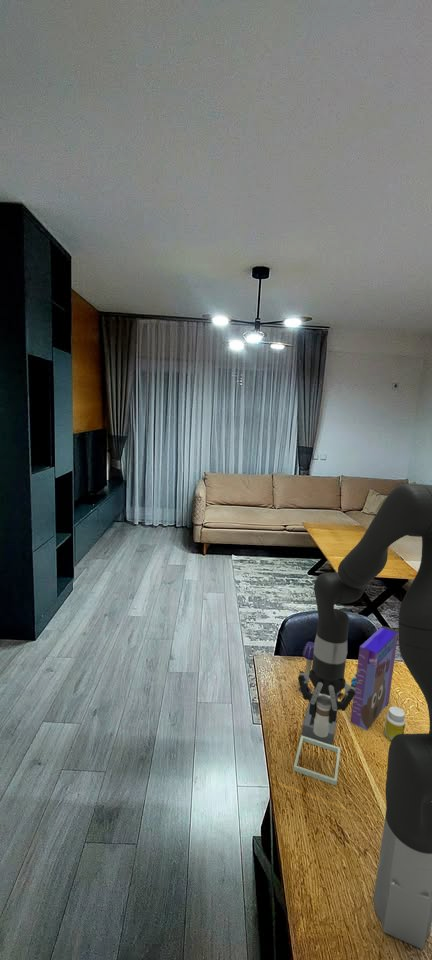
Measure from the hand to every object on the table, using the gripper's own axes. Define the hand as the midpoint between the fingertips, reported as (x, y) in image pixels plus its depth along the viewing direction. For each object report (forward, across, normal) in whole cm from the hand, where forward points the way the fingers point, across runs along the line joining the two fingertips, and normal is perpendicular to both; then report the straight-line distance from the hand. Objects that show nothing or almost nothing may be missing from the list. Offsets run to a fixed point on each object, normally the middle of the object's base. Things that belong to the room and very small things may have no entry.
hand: (322, 718), depth 103 cm
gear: (+13, +10, +38) cm, 41 cm away
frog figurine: (+13, +1, +29) cm, 32 cm away
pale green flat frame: (+12, 0, 0) cm, 12 cm away
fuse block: (+13, -1, +13) cm, 18 cm away
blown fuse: (+4, 0, 0) cm, 4 cm away
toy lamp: (+13, -7, +26) cm, 30 cm away
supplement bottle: (+13, +18, +17) cm, 28 cm away
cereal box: (+13, +12, +25) cm, 31 cm away
